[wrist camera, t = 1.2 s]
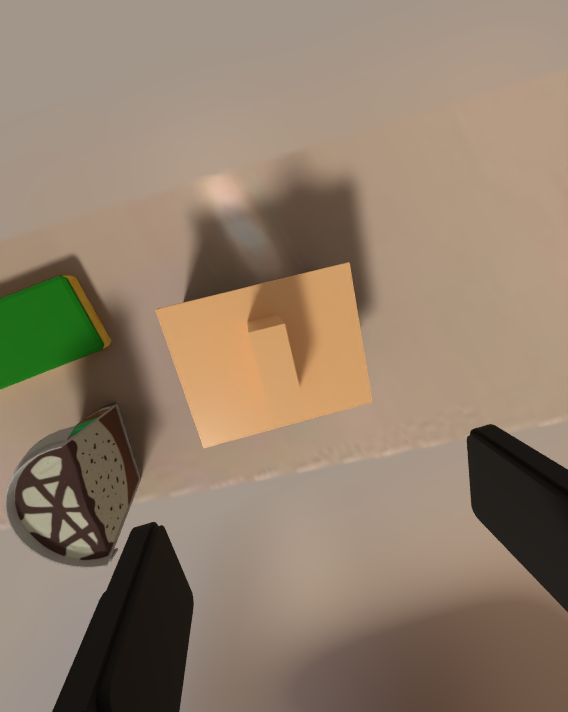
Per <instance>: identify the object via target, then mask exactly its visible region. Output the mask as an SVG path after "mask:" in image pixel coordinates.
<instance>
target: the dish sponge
mask: <svg viewBox="0 0 568 712" xmlns="http://www.w3.org/2000/svg"><path fill="white" fill-rule="evenodd" d="M110 343H111V339H110V338H109V336H108V334H107V332H106V330H105V329H104V327H103V325H102V323H101V321H100V320H99V318H98V316H97V314H96V312H95V311H94V309H93V307H92V305H91V304H90V302H89V300H88V298H87V296H86V295H85V293H84V291H83V289H82V287H81V286H80V284H79V282H78V280H77V278H76V277H73V276H71V275H67V276H57V277H55V278H52V279H49V280H47V281H44V282H42V283H39V284H36V285H34V286H31V287H29V288H26V289H23V290H21V291H18V292H16V293H13V294H10V295H8V296H5V297H3V298H0V389H2V388H5V387H8V386H10V385H13V384H15V383H18V382H20V381H23V380H25V379H28V378H31V377H33V376H36V375H38V374H41V373H43V372H46V371H48V370H51V369H54V368H56V367H59V366H61V365H64V364H66V363H69V362H71V361H74V360H77V359H79V358H82V357H84V356H87V355H89V354H92V353H94V352H97V351H100V350H102V349H104V348H106V347H107V346H109V345H110Z"/></svg>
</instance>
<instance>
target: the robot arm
mask: <svg viewBox="0 0 568 712" xmlns="http://www.w3.org/2000/svg"><path fill="white" fill-rule="evenodd" d="M467 450H468V464H469V478H470V491H471V505H472V509H473V512H474V513H475V515H476V517H477V518H478V519H479V520H480V521H481V522H482V523H483V524H484V526H485V527H486V528H487V529H488V530H489V531H490V532H491V533H492V534H493V535H494V536H495V537H496V538H497V539H498V540H499V541H500V542H501V543H502V544H503V545H504V546H505V547H506V548H507V549H508V551H509V552H510V553H511V554H512V555H513V556H514V557H515V558H516V559H517V560H518V561H519V562H520V563H521V564H522V565H523V566H524V567H525V568H526V569H527V570H528V571H529V572H530V573H531V574H532V575H533V577H534V578H536V580H537V581H538V582H539V583H540V584H541V585H542V586H543V587H544V588H545V589H546V590H547V591H548V592H549V593H550V594H551V595H552V596H553V597H554V598H555V599H556V601H557V602H559V604H560V605H561V606H562V607H563V608H564V609H565V610H566V611H567V612H568V469H566V468H564V467H563V466H561V465H559V464H557V463H556V462H554V461H553V460H551V459H549V458H548V457H546V456H544V455H543V454H541V453H539V452H538V451H536V450H534V449H533V448H531V447H529V446H528V445H526V444H525V443H523V442H521V441H519V440H518V439H516V438H515V437H513V436H511V435H510V434H508V433H507V432H505V431H503V430H502V429H500V428H498V427H497V426H495V425H492V424H489V425H486V426H482V427H479V428H475V429H473V430H471V432H470V435H469V436H468V437H467ZM193 605H194V603H193V594H192V591H191V589H190V587H189V584H188V582H187V579H186V577H185V575H184V572H183V570H182V568H181V565H180V563H179V560H178V558H177V556H176V553H175V551H174V549H173V546H172V544H171V542H170V539H169V537H168V534H167V532H166V530H165V528H164V526H162V525H161V526H158V525H157V523H156V522H151V523H148V524H145V525H142V526H138V527H134V528H133V529H132V531H131V532H130V535H129V537H128V540H127V542H126V545H125V547H124V549H123V552H122V554H121V556H120V559H119V561H118V564H117V566H116V569H115V571H114V573H113V576H112V578H111V581H110V583H109V585H108V588H107V590H106V591H105V592H104V593H103V595H102V597H101V598H100V600H99V603H98V605H97V607H96V610H95V612H94V614H93V617H92V619H91V622H90V624H89V626H88V628H87V631H86V633H85V636H84V638H83V640H82V643H81V645H80V648H79V650H78V652H77V655H76V657H75V659H74V662H73V664H72V666H71V669H70V671H69V673H68V676H67V678H66V680H65V683H64V685H63V688H62V690H61V692H60V695H59V697H58V699H57V702H56V704H55V706H54V709H53V711H52V712H179V710H180V702H181V695H182V687H183V680H184V672H185V666H186V657H187V650H188V643H189V636H190V628H191V621H192V614H193Z"/></svg>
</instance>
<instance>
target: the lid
mask: <svg viewBox="0 0 568 712" xmlns="http://www.w3.org/2000/svg"><path fill="white" fill-rule="evenodd" d="M156 313H157V316H158V319H159V322H160V325H161V328H162V330H163V333H164V336H165V339H166V342H167V345H168V348H169V350H170V353H171V356H172V359H173V362H174V365H175V368H176V370H177V373H178V376H179V379H180V382H181V385H182V388H183V391H184V393H185V396H186V399H187V402H188V405H189V408H190V411H191V413H192V416H193V419H194V422H195V425H196V428H197V431H198V433H199V436H200V439H201V442H202V445H203V448H206V447H210V446H214V445H217V444H221V443H225V442H228V441H232V440H236V439H239V438H243V437H247V436H250V435H254V434H258V433H261V432H265V431H268V430H272V429H276V428H279V427H283V426H287V425H290V424H294V423H298V422H301V421H305V420H309V419H312V418H316V417H320V416H323V415H327V414H331V413H334V412H338V411H342V410H345V409H349V408H353V407H356V406H360V405H364V404H367V403H371V402H372V396H371V390H370V384H369V378H368V372H367V366H366V360H365V354H364V347H363V341H362V335H361V329H360V323H359V317H358V311H357V305H356V299H355V293H354V286H353V280H352V274H351V268H350V262H346V263H342V264H338V265H334V266H330V267H326V268H322V269H317V270H313V271H309V272H305V273H301V274H297V275H293V276H289V277H285V278H281V279H277V280H273V281H269V282H264V283H260V284H256V285H252V286H248V287H244V288H240V289H236V290H232V291H228V292H224V293H220V294H216V295H211V296H207V297H203V298H199V299H195V300H191V301H187V302H183V303H179V304H175V305H171V306H167V307H162V308H158V309H156Z"/></svg>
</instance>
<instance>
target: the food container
mask: <svg viewBox="0 0 568 712" xmlns="http://www.w3.org/2000/svg"><path fill="white" fill-rule="evenodd" d="M140 480H141V478H140V475H139V471H138V468H137V465H136V462H135V459H134V455H133V452H132V449H131V446H130V443H129V439H128V436H127V433H126V430H125V427H124V423H123V420H122V417H121V414H120V411H119V407H118V404H117V403H115V404H111V405H108V406H105V407H103V408H101V409H100V410H98V411H96V412H94V413H93V414H91V415H90V416H89V417H87V418H86V419H84V420H83V421H82V422H80V423H79V424H77V425H76V426H74V427H70V428H66V429H63V430H60V431H57V432H55V433H52V434H50V435H48V436H47V437H45V438H43V439H42V440H40V441H39V442H38V443H36V444H35V445H34V446H33V447H32V448H31V449H30V450H29V451H28V452H27V454H26V455H25V456H24V457H23V459H22V460H21V462H20V463H19V465H18V466H17V468H16V469H15V471H14V473H13V475H12V476H11V478H10V481H9V485H8V488H7V492H6V495H5V511H6V517H7V519H8V522H9V525H10V527H11V529H12V530H13V532H14V534H15V535H16V536H17V537H18V539H20V541H21V542H22V543H23V544H24V545H25V546H26V547H27V548H29V549H30V550H31V551H33V552H34V553H36V554H37V555H39V556H41V557H43V558H45V559H47V560H50V561H52V562H55V563H58V564H61V565H66V566H71V567H80V568H95V567H102V566H107V565H108V563H109V562H110V561H111V560H112V559H113V557H114V556H115V554H116V552H117V551H118V548H117V549H114V548H115V545H116V542H117V540H118V537H119V535H120V532H121V529H122V527H123V524H124V522H125V519H126V517H127V514H128V511H129V509H130V506H131V504H132V501H133V498H134V496H135V493H136V491H137V488H138V485H139V483H140Z"/></svg>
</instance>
